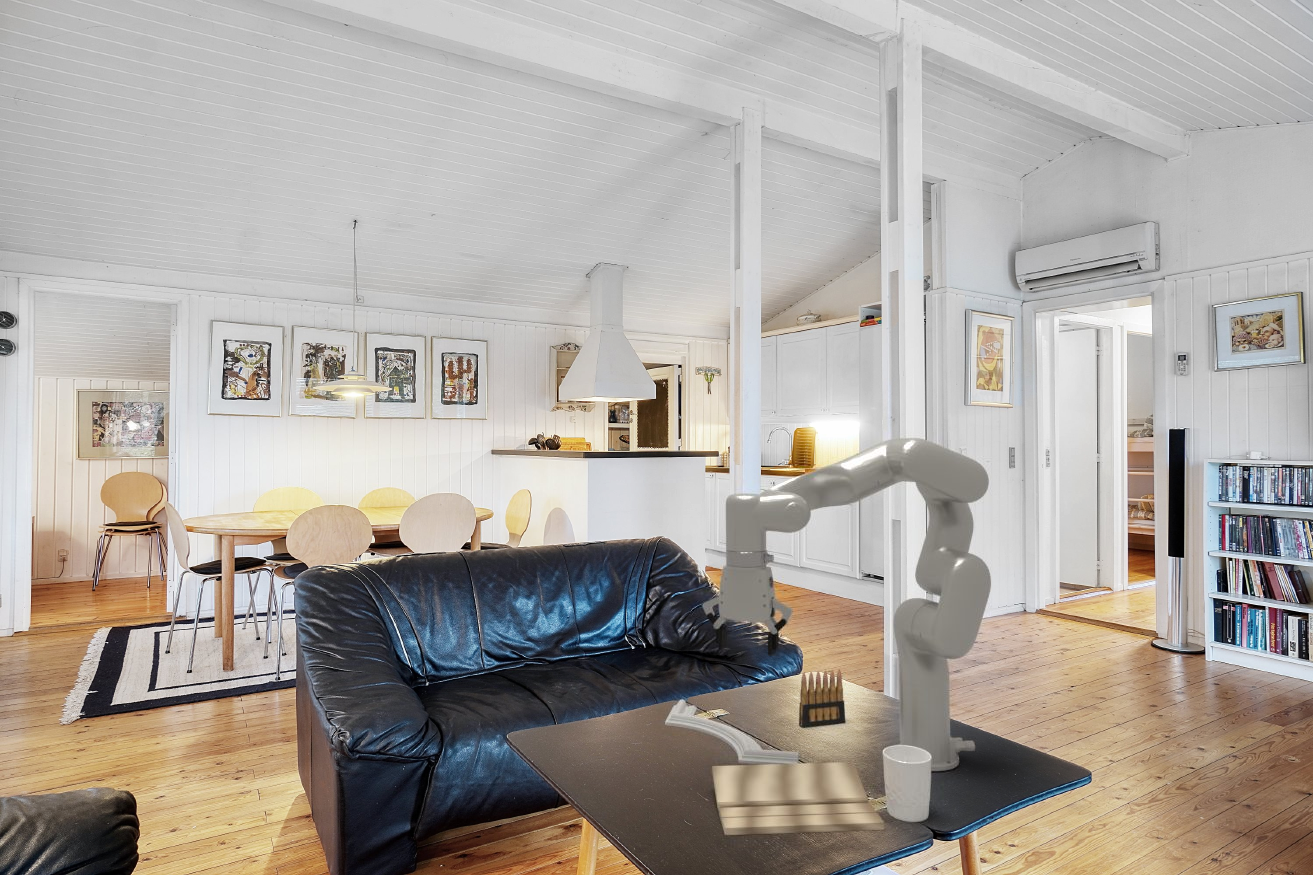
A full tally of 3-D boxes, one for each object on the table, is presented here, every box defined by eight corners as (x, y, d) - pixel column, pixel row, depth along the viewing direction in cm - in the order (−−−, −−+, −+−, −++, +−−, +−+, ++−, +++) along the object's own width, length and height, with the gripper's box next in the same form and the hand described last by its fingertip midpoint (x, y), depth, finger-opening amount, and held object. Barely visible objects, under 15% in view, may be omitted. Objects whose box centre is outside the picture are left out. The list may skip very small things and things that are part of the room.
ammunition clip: (841, 720, 176) (840, 667, 176) (845, 723, 174) (844, 669, 174) (798, 725, 173) (798, 671, 173) (802, 728, 171) (801, 673, 171)
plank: (852, 766, 141) (853, 761, 141) (867, 806, 133) (868, 800, 132) (711, 771, 140) (712, 765, 139) (718, 811, 131) (718, 805, 131)
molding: (812, 766, 152) (812, 751, 152) (765, 780, 145) (765, 765, 145) (687, 707, 187) (687, 695, 187) (645, 716, 180) (645, 704, 180)
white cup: (878, 802, 134) (877, 744, 135) (923, 802, 134) (923, 744, 134) (890, 824, 127) (889, 762, 127) (939, 824, 126) (938, 763, 127)
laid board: (870, 809, 132) (869, 802, 132) (884, 829, 125) (884, 821, 125) (719, 814, 130) (718, 807, 130) (724, 835, 123) (724, 827, 123)
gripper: (796, 559, 144) (797, 651, 144) (709, 555, 151) (710, 642, 151) (786, 564, 137) (787, 661, 137) (695, 559, 144) (696, 651, 144)
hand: (747, 651), depth 144 cm, fingers open, 9 cm apart
